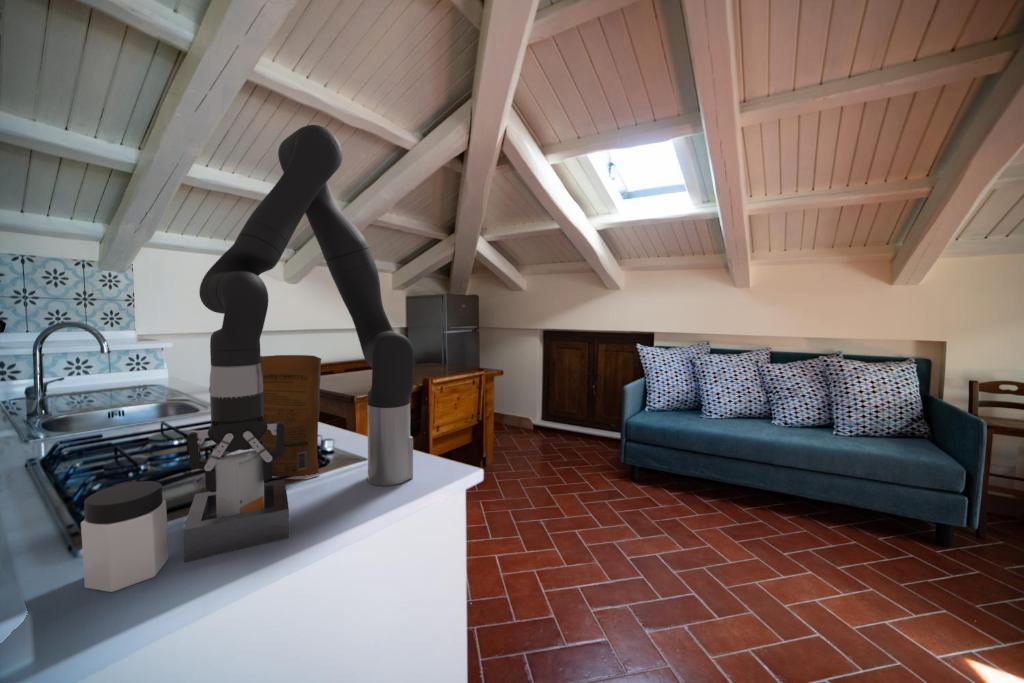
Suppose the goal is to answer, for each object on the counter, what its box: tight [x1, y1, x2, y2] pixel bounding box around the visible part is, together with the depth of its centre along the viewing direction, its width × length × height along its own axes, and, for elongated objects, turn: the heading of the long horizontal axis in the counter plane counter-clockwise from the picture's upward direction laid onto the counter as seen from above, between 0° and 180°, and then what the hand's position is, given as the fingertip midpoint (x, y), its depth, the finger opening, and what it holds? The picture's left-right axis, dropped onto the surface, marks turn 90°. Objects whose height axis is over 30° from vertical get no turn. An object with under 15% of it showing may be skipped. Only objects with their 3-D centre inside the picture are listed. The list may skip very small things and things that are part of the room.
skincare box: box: [215, 449, 264, 518], centre depth 72 cm, size 6×4×12 cm
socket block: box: [182, 479, 290, 563], centre depth 72 cm, size 14×14×5 cm
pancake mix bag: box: [250, 354, 322, 476], centre depth 94 cm, size 7×19×28 cm, turn 87°
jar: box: [80, 480, 170, 593], centre depth 60 cm, size 9×8×12 cm
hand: (240, 485), depth 72 cm, fingers closed on skincare box, 7 cm apart
